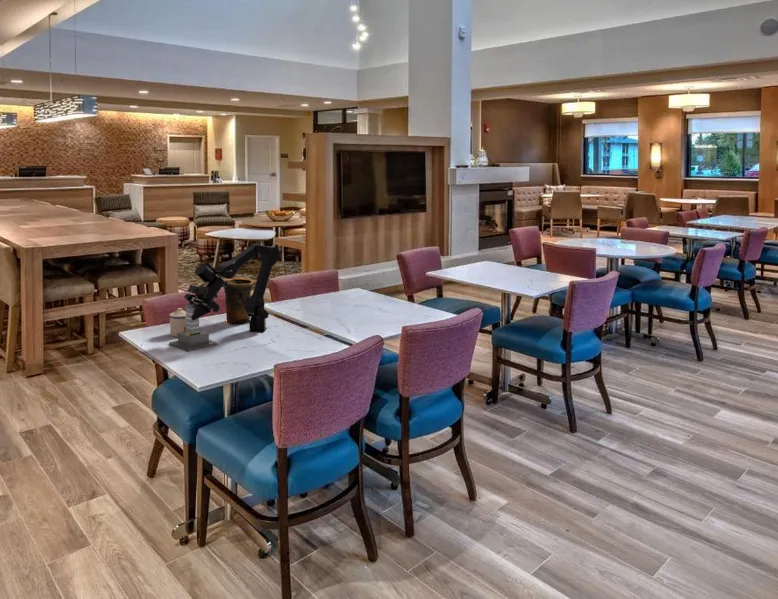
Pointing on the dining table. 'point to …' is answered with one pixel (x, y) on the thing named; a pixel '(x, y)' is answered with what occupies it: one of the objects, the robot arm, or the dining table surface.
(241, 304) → the vessel
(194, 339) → the stand base
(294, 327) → the dining table surface
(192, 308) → the column
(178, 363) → the dining table surface
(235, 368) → the dining table surface
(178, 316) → the teacup with lid
